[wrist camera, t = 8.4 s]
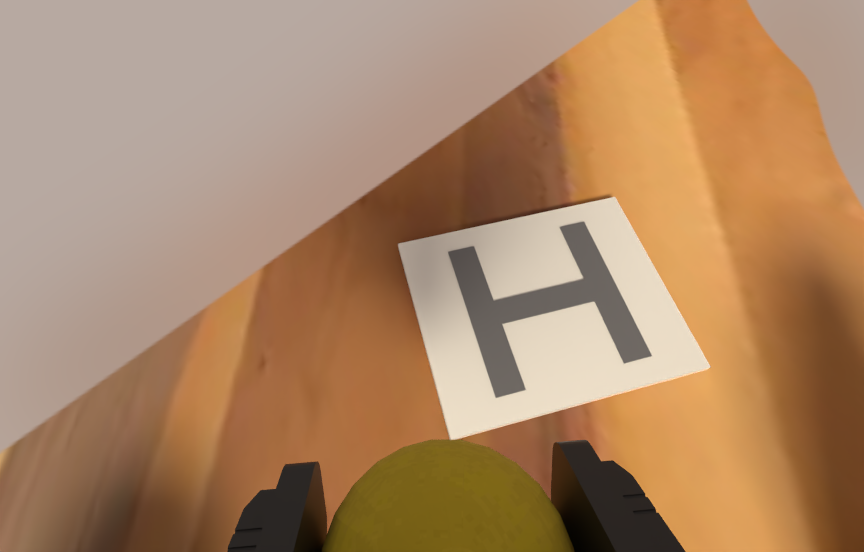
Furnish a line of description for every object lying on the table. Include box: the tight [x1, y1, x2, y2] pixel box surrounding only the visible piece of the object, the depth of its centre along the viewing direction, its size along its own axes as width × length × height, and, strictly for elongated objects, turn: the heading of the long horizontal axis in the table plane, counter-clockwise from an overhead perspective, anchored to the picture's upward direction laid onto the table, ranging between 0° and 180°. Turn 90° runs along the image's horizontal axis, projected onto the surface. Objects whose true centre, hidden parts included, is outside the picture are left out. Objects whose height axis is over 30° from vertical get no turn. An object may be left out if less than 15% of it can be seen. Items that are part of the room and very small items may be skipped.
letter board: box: [398, 197, 710, 440], centre depth 29 cm, size 16×13×1 cm
